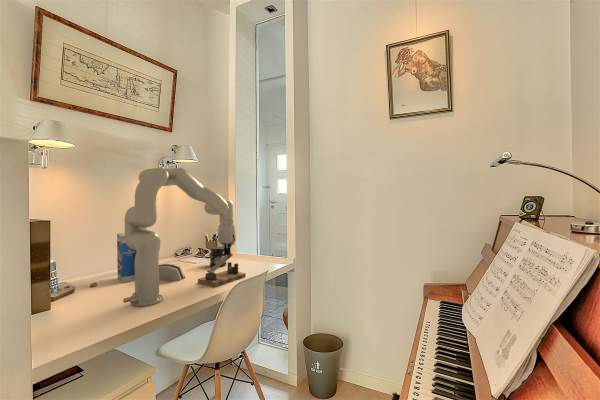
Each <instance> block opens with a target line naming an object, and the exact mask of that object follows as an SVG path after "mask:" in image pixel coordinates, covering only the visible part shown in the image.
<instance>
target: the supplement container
mask: <svg viewBox="0 0 600 400" xmlns="http://www.w3.org/2000/svg"><path fill="white" fill-rule="evenodd" d="M225 256H227V255H224V247H223V246H213V247H211V248H210V253H209V259H210V260H209V265H210V267H211V268H212V267H213V266H215V265H216V264H217V263H218V262H219V261H221V260H222V259H223V258H224V257H225ZM226 265H227V261H226V262H225V263H223V264H222V265H221V266H220V267H219V268H222V267H225V266H226Z"/></svg>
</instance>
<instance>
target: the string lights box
mask: <svg viewBox="0 0 600 400" xmlns="http://www.w3.org/2000/svg"><path fill="white" fill-rule="evenodd" d="M116 245H117V246H116V249H117V251H116V252H117V253H116V257H117V258H116V260H117V261H116V262H117V279H118V280H119V281H120V283H121V284H125V283H130V282H135V256H136V252H137V250H133V249H131V248H129V247H128V246H127V244H126V241H125V232H118V233H116Z"/></svg>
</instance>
